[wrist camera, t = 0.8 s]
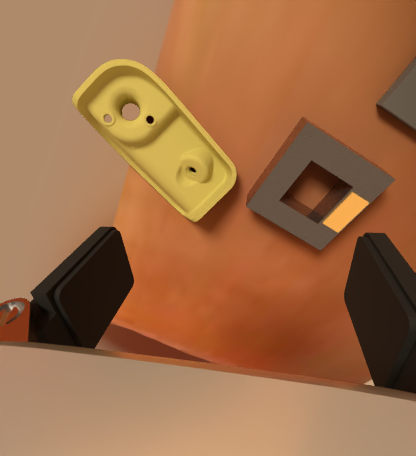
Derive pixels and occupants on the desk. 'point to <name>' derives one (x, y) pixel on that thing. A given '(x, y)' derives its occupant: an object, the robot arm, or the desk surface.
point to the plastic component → (157, 136)
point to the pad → (402, 97)
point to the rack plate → (333, 202)
